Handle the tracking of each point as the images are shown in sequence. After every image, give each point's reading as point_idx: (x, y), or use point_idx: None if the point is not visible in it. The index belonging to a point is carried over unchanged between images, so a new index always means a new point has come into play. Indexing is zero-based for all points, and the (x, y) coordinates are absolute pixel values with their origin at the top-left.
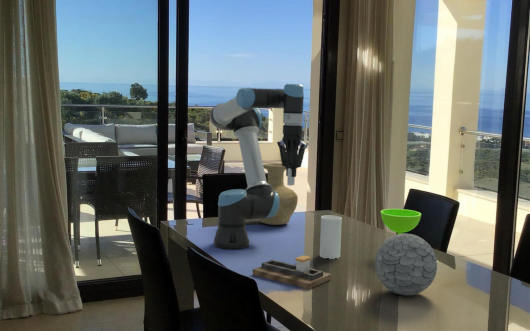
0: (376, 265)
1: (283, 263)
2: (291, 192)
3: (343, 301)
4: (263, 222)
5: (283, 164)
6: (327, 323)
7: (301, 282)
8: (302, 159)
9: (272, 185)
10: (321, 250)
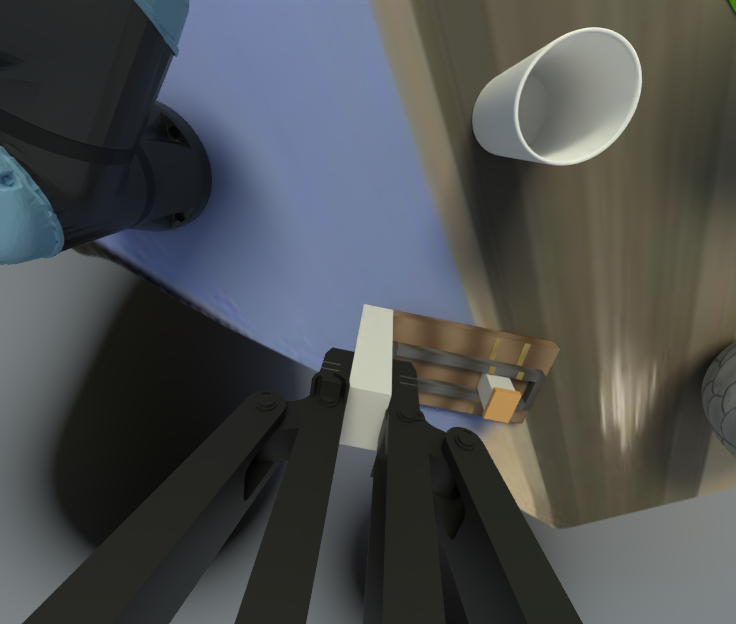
0: (721, 439)
1: (431, 361)
2: None
3: (597, 442)
4: None
5: (267, 463)
6: (579, 518)
7: None
8: (530, 534)
9: None
10: (488, 149)
